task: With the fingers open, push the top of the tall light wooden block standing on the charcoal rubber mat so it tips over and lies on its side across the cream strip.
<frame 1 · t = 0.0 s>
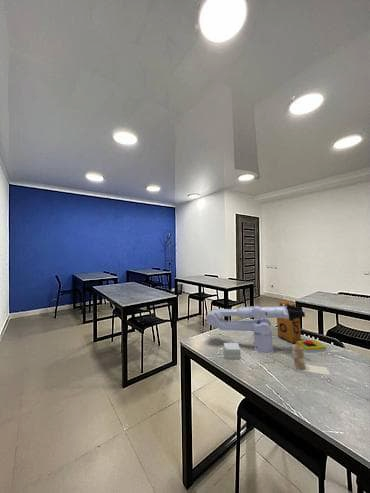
hand: (303, 312, 109), 22 cm above the table, tool horizontal, fingers open, 7 cm apart
rubber mat: (304, 368, 97), on the table
small box: (232, 356, 111), on the table
wooden block: (299, 366, 97), resting on rubber mat
emergency button: (311, 350, 115), on the table
coffee package: (289, 339, 128), on the table
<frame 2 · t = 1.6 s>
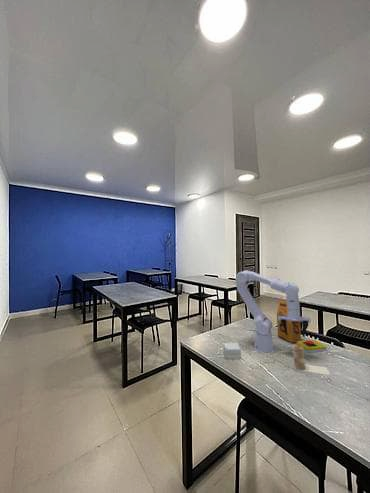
hand: (295, 335, 108), 10 cm above the table, tool pointing down, fingers open, 7 cm apart
nothing on the table moved.
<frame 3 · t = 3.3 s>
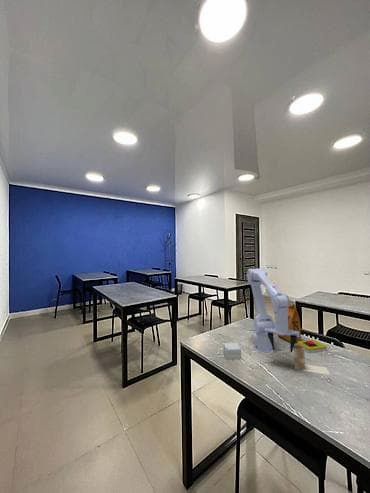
hand: (282, 350, 100), 7 cm above the table, tool pointing down, fingers open, 7 cm apart
wooden block: (299, 366, 97), resting on rubber mat, touching gripper
everything else where it was.
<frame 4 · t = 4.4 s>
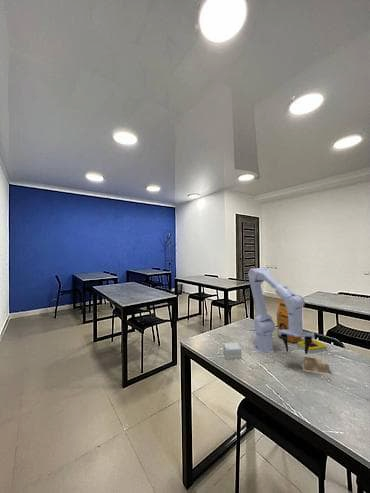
hand: (296, 352, 98), 7 cm above the table, tool pointing down, fingers open, 7 cm apart
wooden block: (304, 363, 97), point 2 cm above the table, tilted 90°, touching rubber mat
everything else where it was.
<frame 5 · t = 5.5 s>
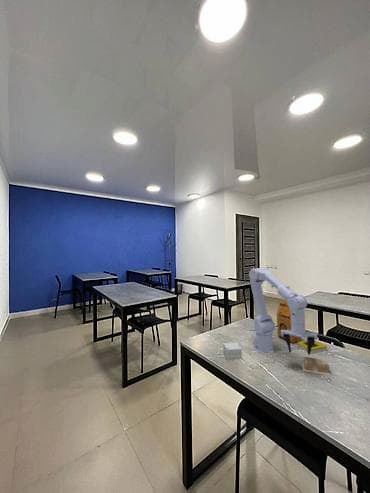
hand: (299, 352, 97), 7 cm above the table, tool pointing down, fingers open, 7 cm apart
nothing on the table moved.
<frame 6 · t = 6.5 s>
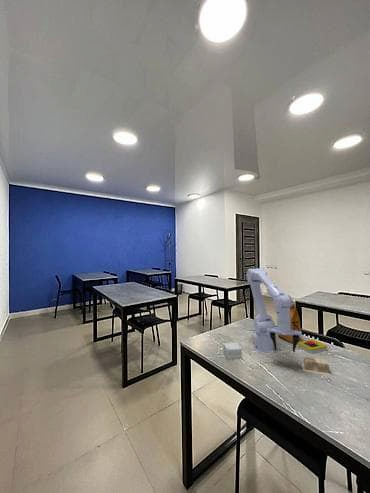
hand: (284, 350, 100), 7 cm above the table, tool pointing down, fingers open, 7 cm apart
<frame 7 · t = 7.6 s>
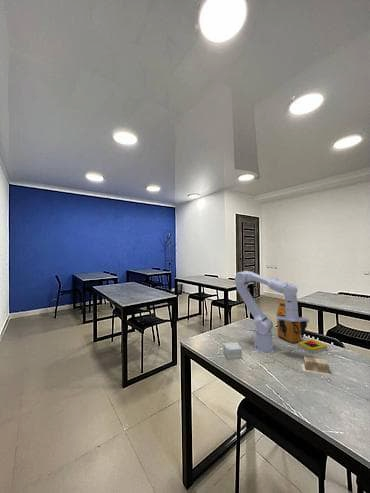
hand: (293, 336, 107), 10 cm above the table, tool pointing down, fingers open, 7 cm apart
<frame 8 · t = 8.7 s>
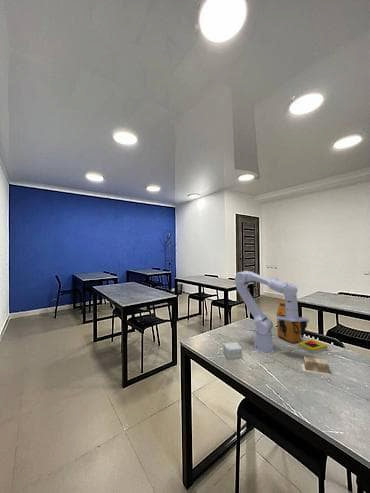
hand: (293, 336, 107), 10 cm above the table, tool pointing down, fingers open, 7 cm apart
at the end: wooden block tilted 90°; wooden block inside the target area (1.0 cm from its centre), point 2.5 cm above the table; the gripper is holding nothing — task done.
